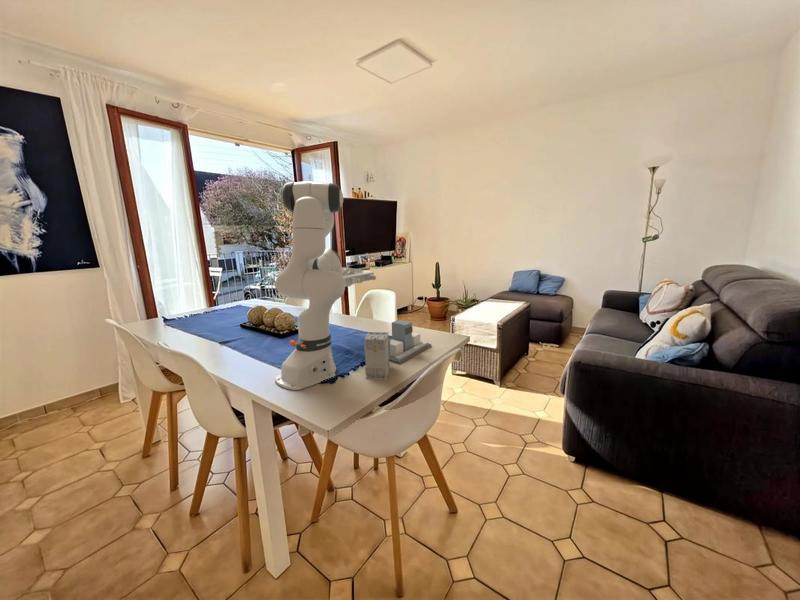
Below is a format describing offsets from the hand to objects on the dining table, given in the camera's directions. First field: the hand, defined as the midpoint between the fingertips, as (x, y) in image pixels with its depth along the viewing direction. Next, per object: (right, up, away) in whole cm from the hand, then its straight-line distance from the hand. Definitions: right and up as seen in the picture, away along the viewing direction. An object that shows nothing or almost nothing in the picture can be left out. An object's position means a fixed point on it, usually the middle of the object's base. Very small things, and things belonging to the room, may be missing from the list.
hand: (368, 279), depth 148 cm
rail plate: (+16, -32, -4) cm, 36 cm away
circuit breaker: (+6, -36, -23) cm, 43 cm away
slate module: (+15, -30, -4) cm, 34 cm away
